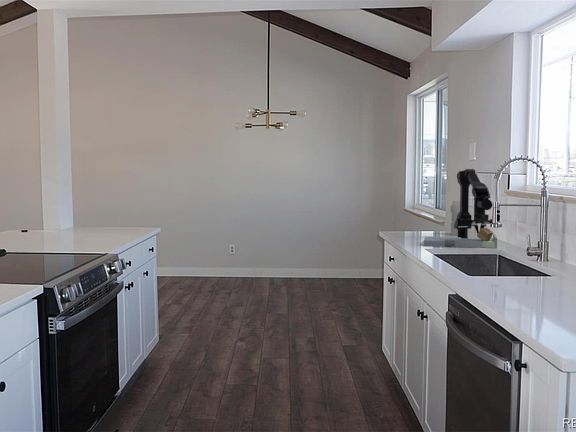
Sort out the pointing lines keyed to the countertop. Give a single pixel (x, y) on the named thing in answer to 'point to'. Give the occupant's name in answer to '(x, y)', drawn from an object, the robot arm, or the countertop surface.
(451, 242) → the deck
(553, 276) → the countertop surface
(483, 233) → the block
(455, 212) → the tall pale column
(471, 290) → the countertop surface
